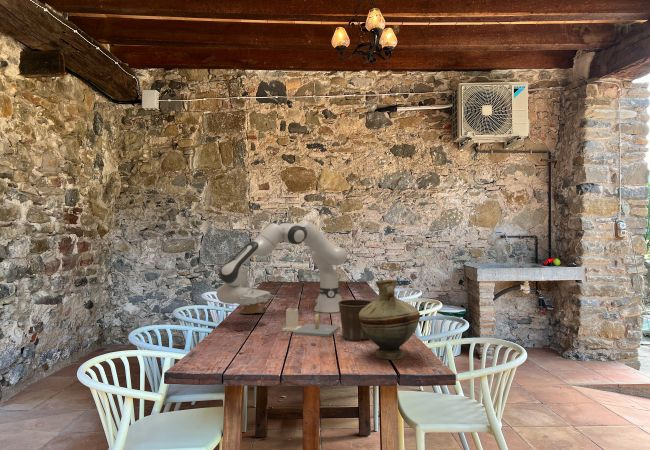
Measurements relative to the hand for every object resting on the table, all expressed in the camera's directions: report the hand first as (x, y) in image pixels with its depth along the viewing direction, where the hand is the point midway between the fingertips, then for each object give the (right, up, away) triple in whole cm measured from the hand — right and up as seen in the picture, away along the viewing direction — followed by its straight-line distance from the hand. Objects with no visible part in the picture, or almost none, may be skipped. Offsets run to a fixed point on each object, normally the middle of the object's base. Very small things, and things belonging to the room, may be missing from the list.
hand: (271, 298), depth 217 cm
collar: (+11, -15, -3) cm, 19 cm away
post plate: (+23, -15, -7) cm, 28 cm away
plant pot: (+41, -15, -20) cm, 48 cm away
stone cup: (-16, -16, +38) cm, 44 cm away
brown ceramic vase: (+52, -14, -49) cm, 73 cm away
